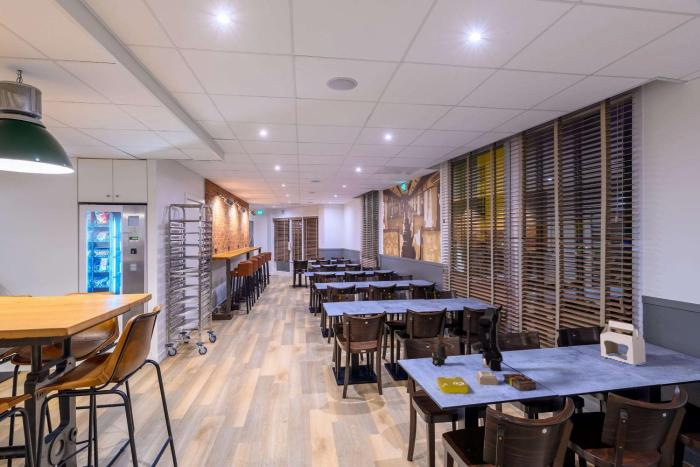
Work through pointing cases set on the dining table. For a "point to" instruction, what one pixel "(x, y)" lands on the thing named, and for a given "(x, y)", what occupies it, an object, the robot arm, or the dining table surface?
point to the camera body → (486, 378)
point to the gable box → (633, 342)
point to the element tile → (452, 385)
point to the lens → (485, 363)
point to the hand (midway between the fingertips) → (486, 364)
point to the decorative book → (519, 381)
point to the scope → (439, 356)
